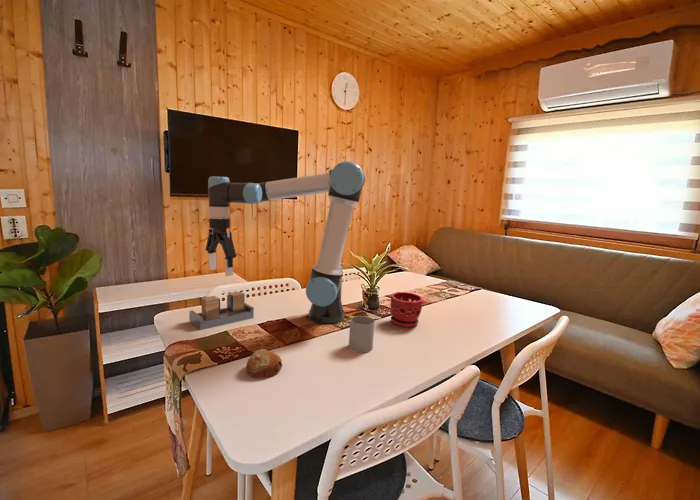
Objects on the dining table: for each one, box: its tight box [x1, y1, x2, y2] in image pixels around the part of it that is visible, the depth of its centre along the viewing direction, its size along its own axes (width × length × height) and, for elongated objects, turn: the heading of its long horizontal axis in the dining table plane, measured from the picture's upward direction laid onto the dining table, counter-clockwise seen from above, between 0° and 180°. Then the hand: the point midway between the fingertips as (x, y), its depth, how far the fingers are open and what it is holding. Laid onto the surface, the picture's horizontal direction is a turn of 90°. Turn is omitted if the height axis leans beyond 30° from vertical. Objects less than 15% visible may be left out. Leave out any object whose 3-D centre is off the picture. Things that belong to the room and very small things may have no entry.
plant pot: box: [390, 291, 424, 328], centre depth 152 cm, size 13×13×12 cm
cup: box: [348, 315, 375, 354], centre depth 126 cm, size 8×8×10 cm
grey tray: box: [188, 291, 254, 331], centre depth 144 cm, size 10×22×10 cm, turn 134°
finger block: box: [200, 295, 221, 320], centre depth 141 cm, size 4×6×8 cm
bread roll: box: [245, 348, 283, 379], centre depth 107 cm, size 10×10×8 cm
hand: (220, 272), depth 141 cm, fingers open, 13 cm apart
